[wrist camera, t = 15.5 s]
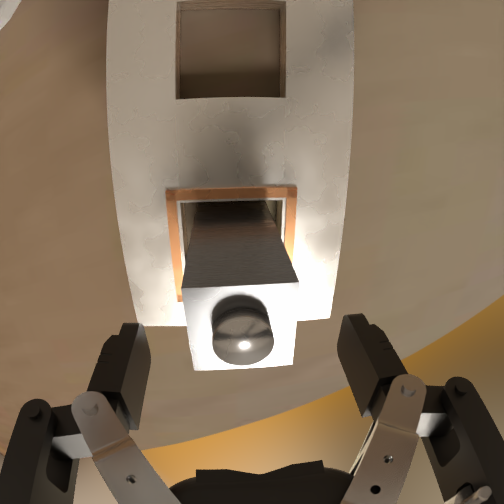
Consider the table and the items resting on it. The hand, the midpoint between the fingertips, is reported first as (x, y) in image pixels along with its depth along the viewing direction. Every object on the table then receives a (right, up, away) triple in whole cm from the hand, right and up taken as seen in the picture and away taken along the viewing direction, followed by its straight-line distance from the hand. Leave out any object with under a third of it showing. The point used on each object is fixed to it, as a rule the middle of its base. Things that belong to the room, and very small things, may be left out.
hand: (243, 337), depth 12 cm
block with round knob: (-1, +5, +9) cm, 10 cm away
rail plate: (-1, +10, +7) cm, 12 cm away
